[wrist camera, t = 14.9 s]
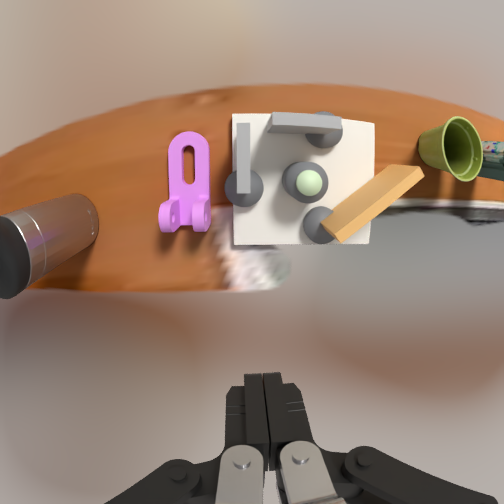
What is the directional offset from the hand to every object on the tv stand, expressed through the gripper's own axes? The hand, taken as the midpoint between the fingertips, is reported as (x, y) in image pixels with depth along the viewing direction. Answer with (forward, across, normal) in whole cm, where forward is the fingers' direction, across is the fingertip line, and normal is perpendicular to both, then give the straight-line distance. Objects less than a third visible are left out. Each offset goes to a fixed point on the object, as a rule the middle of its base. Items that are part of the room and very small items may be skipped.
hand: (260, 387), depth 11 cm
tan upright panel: (+28, -15, -4) cm, 32 cm away
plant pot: (+30, -31, -14) cm, 45 cm away
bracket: (+31, +7, -7) cm, 33 cm away
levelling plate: (+30, -8, -7) cm, 32 cm away
